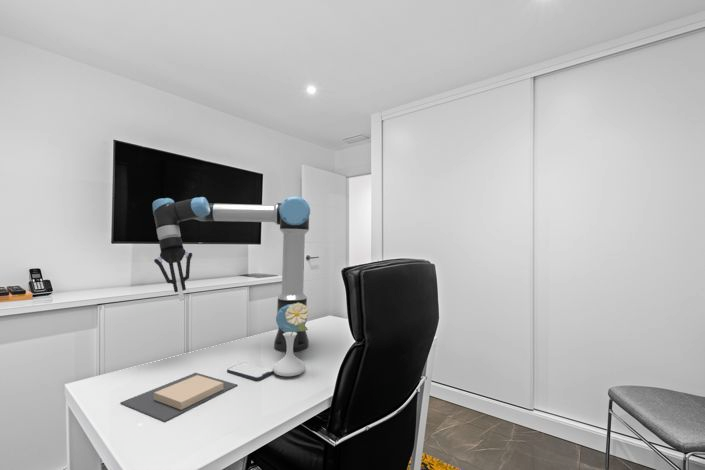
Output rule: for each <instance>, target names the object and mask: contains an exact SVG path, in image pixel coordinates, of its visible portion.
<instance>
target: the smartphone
mask: <svg viewBox="0 0 705 470" xmlns="http://www.w3.org/2000/svg"><path fill="white" fill-rule="evenodd" d="M226 373H227V374H230V375H233V376H237V377H241V378H243V379H246V380H249V381H253V382H260V381H263V380H265V379H267V378H269V377H272V376H273V375H274V374H275V373H274V371H273V368H269V367H265V366H262V365H261V366H260V365H257V364H253V363H249V362H242V363H240V364H237V365H234V366H232V367H229V368H227V370H226ZM275 375H276V374H275Z"/></svg>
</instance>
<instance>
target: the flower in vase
mask: <svg viewBox="0 0 705 470" xmlns="http://www.w3.org/2000/svg"><path fill="white" fill-rule="evenodd" d="M309 314H310V311H309V310H308V305H307V306H305V305H303V304H300V303H297V304H293V305H291V306H289V308H288V309H287V311H286V313H285V316H286V319H288V320H287V322H288V323H290V324H293V325H296V327H297V329H298V330H299V331H306V332H307V331H308V327H307V326H306V324H305V325H304V324H301V323H303V322H305V321H306V318H307V319H308V318H309ZM299 324H300V325H299ZM297 325H298V326H297ZM284 326H285V325H284ZM286 327H288V326H286ZM296 327H295V328H294V330H295V329H296ZM288 328H290V327H288ZM290 329H291V328H290ZM294 330H293V331H294ZM293 331H292V332H286V333H283V336H284V337H285V339H286V345H287V352H285V355H284V356H283V357H282V358H281V359H279V360H278V361H277V362H276V363H275V364H274V366H273V368H272V369H273V371H274V373H275V375H277V376H281V377H295V376H298V375H300V374H302V373H304V372H305V370H306V368H307V367H306V364H305V363H304V362H303V361H302V360H301V359H300V358H298V357H297V356H295V354H294V351H293V343H294V339H295V337H296V335H297V333H296V332H293Z"/></svg>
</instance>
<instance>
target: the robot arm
mask: <svg viewBox="0 0 705 470" xmlns="http://www.w3.org/2000/svg"><path fill="white" fill-rule="evenodd" d="M152 214H153V216H154V217H153V218H154V223H155V227H156V234H157V239H158V240H159V241H158V245H159V248H160V254H159V257H157V258H155V259H154V260H153V261H154V263H155V264H156V265H157V266H158V268H159V270H160V272H161V273H162V275H163V277H164V279H165V281H166V283H167V284H172V286H173V291H174V293H178V299H179V301H180V302H182V301H184V300H185V296H184V291H186V290H187V289H186V288H187V287H186V281H187V280H189V279H190V273H191V272H190V270H191V269H190V268H191V260H192V257H193V253H192V252H188V251H186V249H185V248H184V245H183V240H182V239H183V238H182V237H181V236H182V235H181V230H180V225H179V223H180V222H184V221H189V220H197V221H199V222H249V223H251V222H252V223H253V222H254V223H275V225H277V226H278V225H279V230H280V232H281V233H282V234H283V241H282V271H281V273H282V274H281V275H282V276H281V278H282V279H281V293H280V295H278V297H277V304H276V305H277V307H276V309H277V310H276V312H277V313H276V316H275V322H276V324H277V327H278V330H277V333H276V336H275V337H274V341H273V348H274V350H276V351H280V352H285V353H286V352H287V345H286V339H285V337H284V336H283V333H286V332H292V331H293V330H294V328H295V327H296V325H293V324H290V323H288V322H287V320H288V319H286V316H285V313H286V311H287V309H288V308H289V306H291V305H293V304H297V303H300V304H303V305H305V306H307V307H308V304H307V300H308V297H307V296H306V294H304V282H305V281H304V277H305V276H304V275H305V273H304V272H305V243H306V241H305V240H306V239H305V238H306V234H307V233H308V232H309V231H310V229H309V228H310V227H309V226H310V214H311V208H310V205H309V203H308V201H307V200H306V199H304V198H303V197H301V196H296V195H294V196H293V195H291V196H288V197H286V198H285V199H284V200H283V201H282V202H276V203H275V204H249V203H248V204H246V203H245V204H243V203H242V204H241V203H239V204H237V203H209V200H207V198H206V197H204V196H200V197H194V198H190V199H185V200H181V201H177V202H175V200H174V199H172V198H169V197H165V198H163V197H162V198H158V199H155V200H153V202H152ZM184 257H185V258H186V261H185V264H186V265H185V276H184V274H183V267H182V263H181V262H182V260H183V258H184ZM163 261H164V262H166V263H167V264H168V265H169V270H170V276H171V278H170V277H169V275H168V273H167V271H166V269H165V267H164V265H163V264H162V263H163ZM175 263H176V264H177V265H176V266H177V271H178V275H179V280H180V281H177V278H176V273H175V267H174V264H175ZM307 321H308V317H307V318H306V321H305V322H303V323H301V324H304V325H305V326H306V325H307V324H306V323H307ZM284 325H285V326H284ZM299 325H300V324H299ZM286 326H288V327H290V328H291V329H290V328H288V327H286ZM297 326H298V325H297ZM293 332H296V333H297V335H296V337H295V339H294V343H293V352H300V351H302V350H306V349H308V348H309V344H310V343H309V342H310V341H309V337H308V334H307V330H306V331H299V330H298V329H297V327H296V329H295V330H294V331H293ZM305 348H306V349H305Z"/></svg>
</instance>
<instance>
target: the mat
mask: <svg viewBox="0 0 705 470" xmlns="http://www.w3.org/2000/svg"><path fill="white" fill-rule="evenodd" d="M196 375H198V376H202V377H205V378H209V379H212V380H216V381H219V382H223V390H221V391H219V392H217V393H215V394H213V395H211V396H209V397H207V398H205V399H203V400H201V401H199V402H197V403H195V404H193V405H191V406H189V407H187V408H185V409H183V410H180V409H177V408H175V407H172V406H169V405H167V404H164V403H161V402H159V401H156V400H154V392H157V391H159V390H162V389H164V388H167V387H169V386H172V385H174V384H177V383H179V382H181V381H184V380H186V379H189V378H191V377H194V376H196ZM236 387H238V384H237V383H233V382H230V381H226V380H223V379H220V378H215V377H213V376H208V375H206V374H201V373H197V372H194V373H192V374H189V375H186V376H184V377H181V378H179V379H176V380H173V381H170V382H169V383H166V384H164V385H161V386H158V387H155V388H152V389H151V390H148V391H146V392H142V393H140V394H137V395H135V396H134V397H133V396H132V397H131V398H128V399H125V400H123V401H121V402H120V405H123V406H125V407H127V408H130V409H131V410H134V411H137V412H139V413H141V414H144V415H145V416H149V417H151V418H154V419H156V420H158V421H161V422H163V423H166V422H168V421H170V420H173V419H174V418H177V417H179V416H180V415H182V414H184V413H186V412H188V411H190V410H192V409H194V408H196V407H198V406H201V405H202V404H204V403H206V402H209V401H210V400H212V399H214V398H217V397H218V396H220V395H222V394H224V393H226V392H228V391H231V390H233V389H235V388H236Z"/></svg>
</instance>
